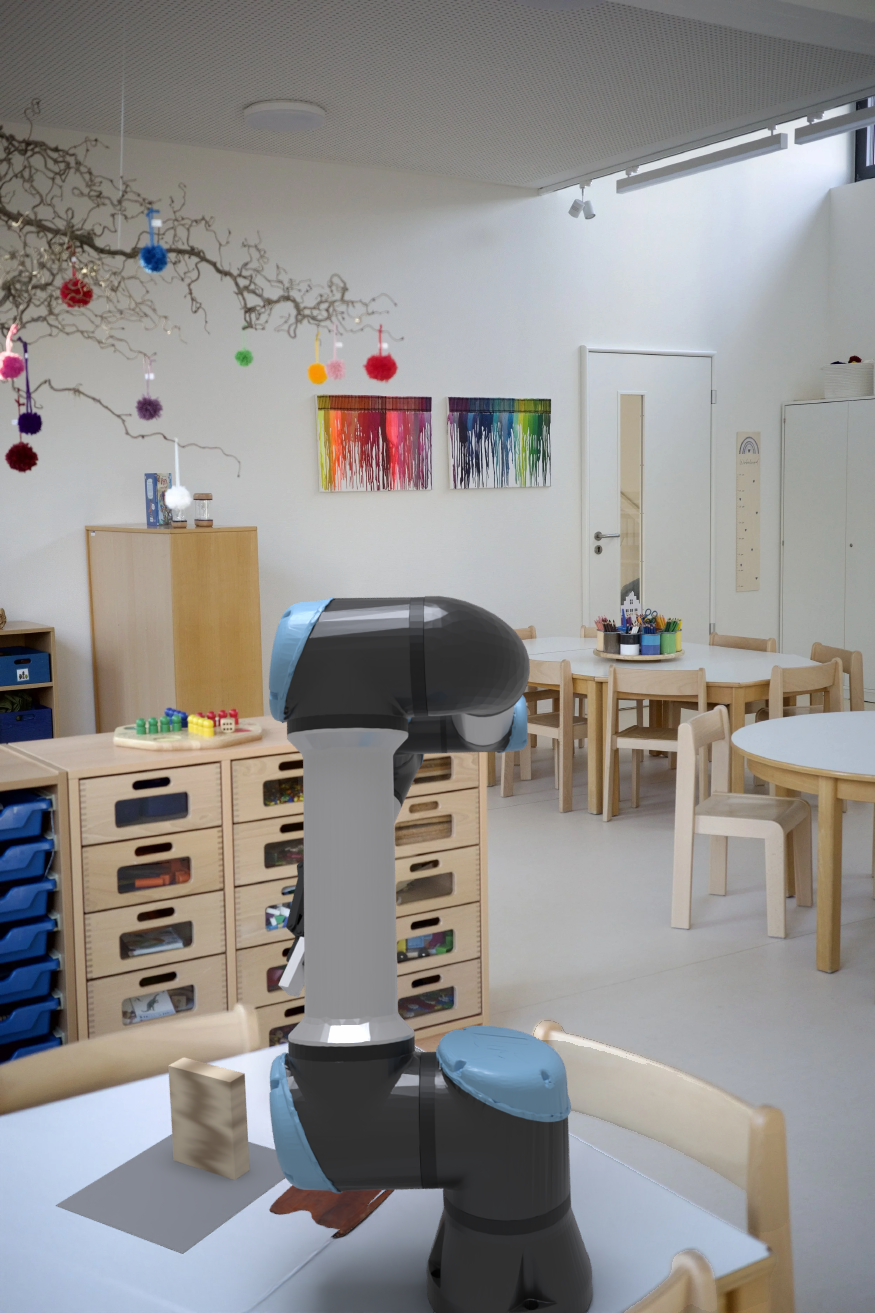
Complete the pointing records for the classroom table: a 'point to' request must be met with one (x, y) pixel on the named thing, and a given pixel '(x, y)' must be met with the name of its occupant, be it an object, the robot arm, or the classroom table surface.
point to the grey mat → (173, 1195)
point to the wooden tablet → (330, 1206)
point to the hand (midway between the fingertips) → (288, 991)
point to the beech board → (209, 1117)
